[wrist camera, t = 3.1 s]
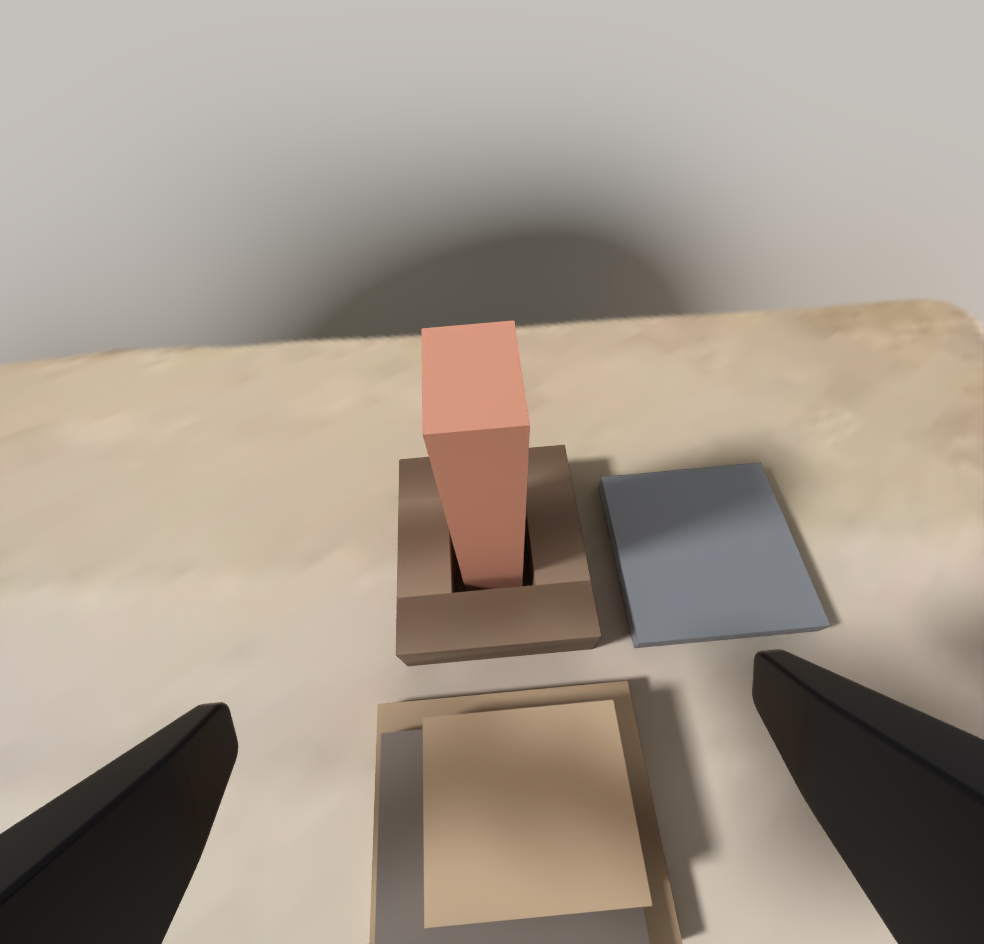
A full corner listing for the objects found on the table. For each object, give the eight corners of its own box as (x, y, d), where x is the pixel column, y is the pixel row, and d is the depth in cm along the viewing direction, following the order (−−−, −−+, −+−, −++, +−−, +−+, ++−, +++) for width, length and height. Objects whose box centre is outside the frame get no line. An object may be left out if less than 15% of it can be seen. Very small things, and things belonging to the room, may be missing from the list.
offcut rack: (676, 946, 16) (706, 981, 14) (375, 976, 16) (349, 1017, 14) (579, 469, 26) (586, 436, 23) (390, 486, 26) (376, 455, 23)
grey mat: (817, 631, 21) (830, 625, 20) (634, 648, 21) (639, 643, 20) (752, 472, 25) (760, 462, 24) (598, 486, 25) (601, 477, 24)
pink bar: (521, 592, 23) (529, 425, 11) (467, 597, 23) (422, 434, 11) (513, 523, 24) (514, 320, 13) (463, 528, 24) (421, 328, 13)
